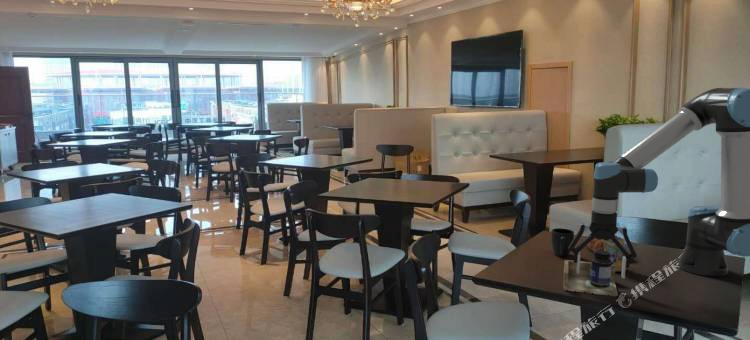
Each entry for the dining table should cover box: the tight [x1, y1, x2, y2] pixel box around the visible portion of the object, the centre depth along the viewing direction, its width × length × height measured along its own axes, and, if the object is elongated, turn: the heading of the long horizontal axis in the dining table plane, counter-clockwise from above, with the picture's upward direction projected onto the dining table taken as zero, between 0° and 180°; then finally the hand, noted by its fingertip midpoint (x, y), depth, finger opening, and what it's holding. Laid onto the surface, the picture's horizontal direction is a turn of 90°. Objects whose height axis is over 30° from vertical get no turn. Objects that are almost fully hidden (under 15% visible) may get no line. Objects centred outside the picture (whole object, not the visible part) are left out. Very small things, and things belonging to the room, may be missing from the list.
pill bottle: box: [590, 250, 612, 287], centre depth 174 cm, size 6×6×11 cm
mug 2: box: [602, 236, 629, 273], centre depth 193 cm, size 12×9×11 cm
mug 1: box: [550, 227, 575, 258], centre depth 206 cm, size 8×12×10 cm
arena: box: [562, 259, 619, 297], centre depth 176 cm, size 16×14×6 cm
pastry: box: [585, 235, 633, 263], centre depth 209 cm, size 17×15×8 cm
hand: (600, 274), depth 174 cm, fingers open, 13 cm apart
